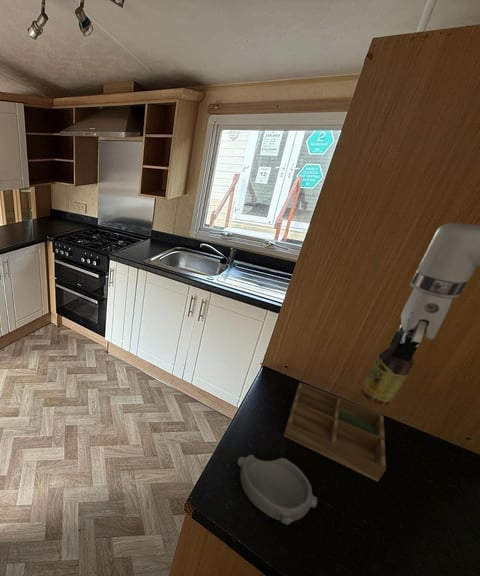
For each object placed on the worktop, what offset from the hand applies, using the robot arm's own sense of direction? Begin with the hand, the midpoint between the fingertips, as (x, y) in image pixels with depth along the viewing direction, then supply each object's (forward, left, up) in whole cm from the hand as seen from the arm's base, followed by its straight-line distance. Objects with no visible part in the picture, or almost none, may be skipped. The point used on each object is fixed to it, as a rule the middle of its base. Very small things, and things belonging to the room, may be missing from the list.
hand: (399, 352), depth 74 cm
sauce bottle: (0, 0, -15) cm, 15 cm away
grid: (+6, -3, -28) cm, 28 cm away
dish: (+35, +5, -28) cm, 45 cm away
